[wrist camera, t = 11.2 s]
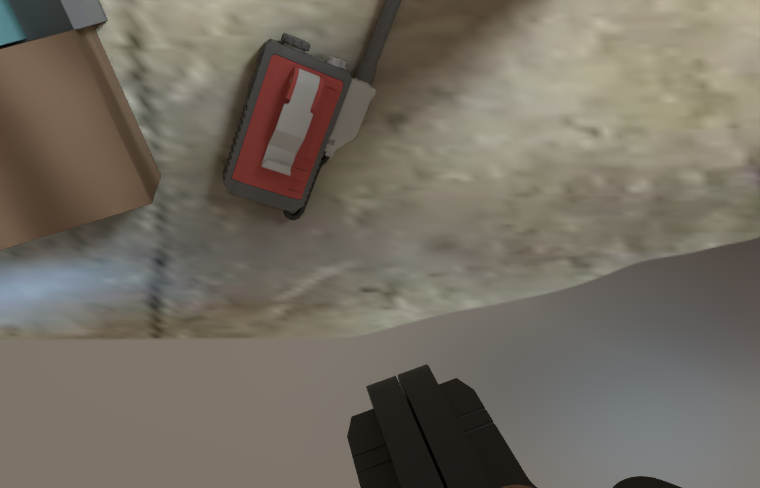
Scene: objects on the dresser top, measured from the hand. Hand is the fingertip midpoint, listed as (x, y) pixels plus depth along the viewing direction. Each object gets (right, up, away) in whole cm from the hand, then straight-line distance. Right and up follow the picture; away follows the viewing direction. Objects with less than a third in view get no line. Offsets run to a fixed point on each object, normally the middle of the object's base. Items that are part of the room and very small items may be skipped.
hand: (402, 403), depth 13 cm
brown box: (-24, +12, +25) cm, 37 cm away
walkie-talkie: (-6, +16, +29) cm, 34 cm away
